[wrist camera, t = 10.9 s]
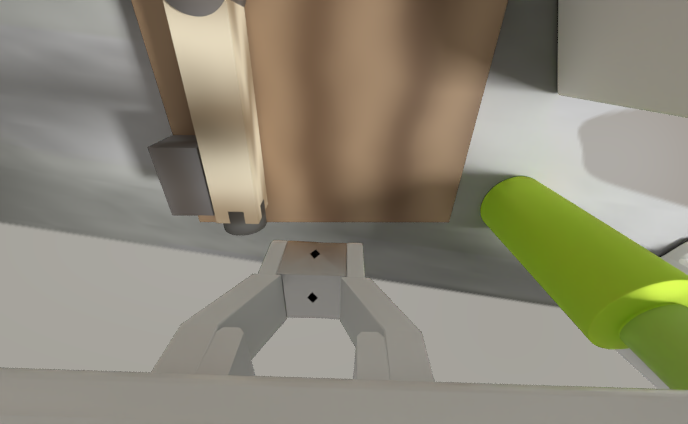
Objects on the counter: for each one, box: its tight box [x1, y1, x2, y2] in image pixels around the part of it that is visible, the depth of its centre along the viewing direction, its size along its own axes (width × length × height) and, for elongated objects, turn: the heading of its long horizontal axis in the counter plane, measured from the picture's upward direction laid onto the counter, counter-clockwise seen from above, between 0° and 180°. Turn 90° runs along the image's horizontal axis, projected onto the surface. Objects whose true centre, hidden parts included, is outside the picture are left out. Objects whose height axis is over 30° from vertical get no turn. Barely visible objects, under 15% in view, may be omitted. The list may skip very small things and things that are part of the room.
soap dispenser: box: [480, 176, 688, 390], centre depth 17 cm, size 6×7×20 cm
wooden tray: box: [131, 0, 508, 222], centre depth 18 cm, size 22×20×6 cm
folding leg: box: [163, 0, 268, 235], centre depth 17 cm, size 17×4×3 cm, turn 178°
